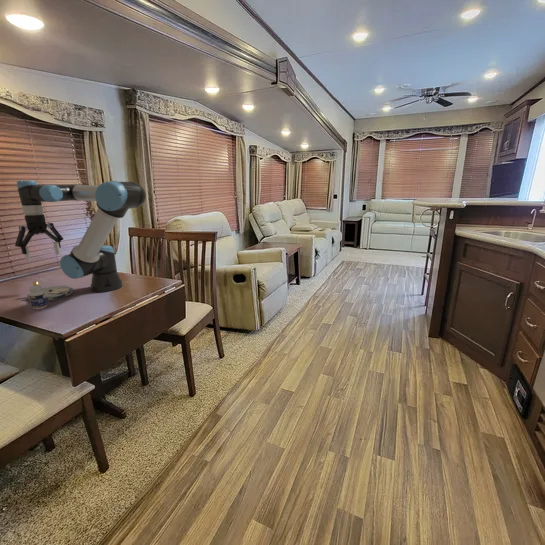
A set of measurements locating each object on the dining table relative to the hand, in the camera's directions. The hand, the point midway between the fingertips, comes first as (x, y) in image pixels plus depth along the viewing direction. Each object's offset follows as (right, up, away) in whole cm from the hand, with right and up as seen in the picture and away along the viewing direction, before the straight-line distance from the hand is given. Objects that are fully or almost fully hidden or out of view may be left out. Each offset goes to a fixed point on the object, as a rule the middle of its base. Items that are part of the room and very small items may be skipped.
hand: (44, 257), depth 146 cm
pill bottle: (+8, -24, -13) cm, 28 cm away
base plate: (+3, -19, +1) cm, 19 cm away
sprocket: (+3, -19, +1) cm, 19 cm away
